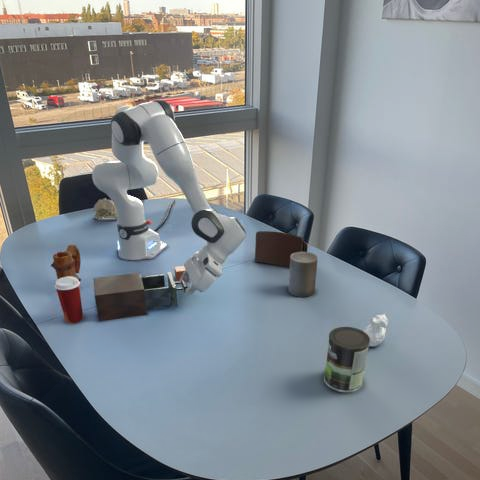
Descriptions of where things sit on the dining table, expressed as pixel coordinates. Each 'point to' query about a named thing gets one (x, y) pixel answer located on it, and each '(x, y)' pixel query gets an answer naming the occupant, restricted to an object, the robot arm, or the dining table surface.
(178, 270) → the block
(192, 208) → the robot arm
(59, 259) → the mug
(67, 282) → the paper cup
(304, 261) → the pillar candle
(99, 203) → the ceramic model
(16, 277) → the dining table surface
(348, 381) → the coffee can
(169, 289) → the drawer
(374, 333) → the bust
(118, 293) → the cabinet
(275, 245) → the letter holder
